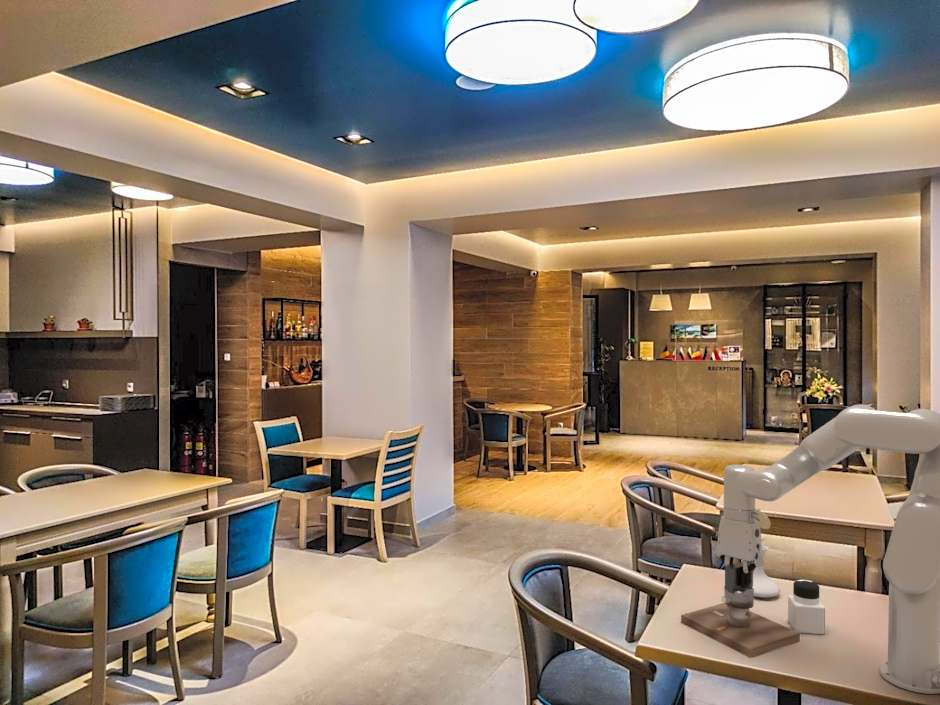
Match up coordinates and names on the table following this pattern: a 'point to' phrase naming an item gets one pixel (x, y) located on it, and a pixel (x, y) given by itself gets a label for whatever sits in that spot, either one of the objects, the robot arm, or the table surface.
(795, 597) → the medicine bottle
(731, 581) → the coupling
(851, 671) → the table surface
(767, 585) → the flower in vase
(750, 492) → the robot arm
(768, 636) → the brown wooden board
